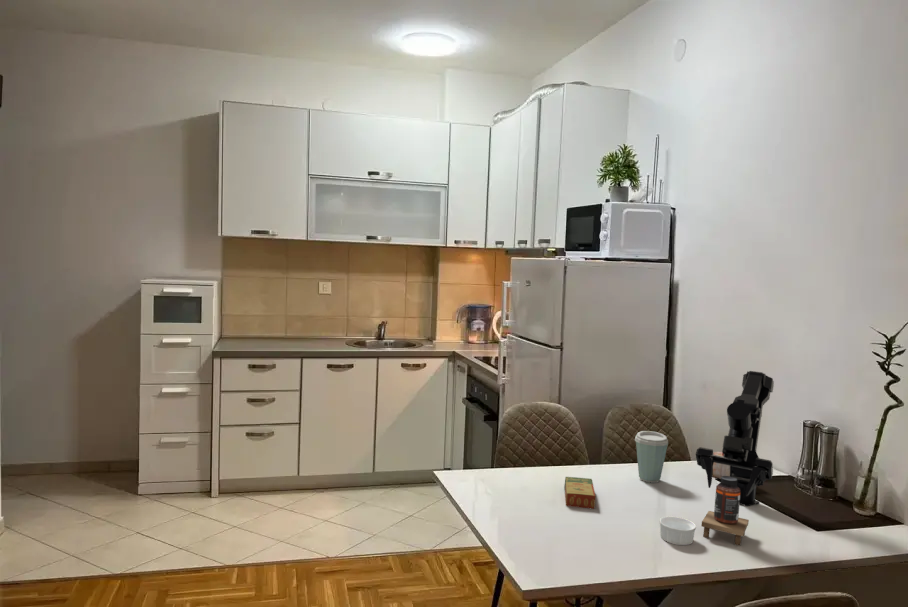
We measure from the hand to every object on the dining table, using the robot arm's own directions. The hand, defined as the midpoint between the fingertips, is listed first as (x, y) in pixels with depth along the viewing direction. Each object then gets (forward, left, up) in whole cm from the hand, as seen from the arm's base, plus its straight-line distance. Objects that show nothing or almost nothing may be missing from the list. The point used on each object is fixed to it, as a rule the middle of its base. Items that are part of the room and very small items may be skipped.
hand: (727, 491), depth 176 cm
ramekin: (+13, -4, -12) cm, 19 cm away
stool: (-1, 0, -12) cm, 12 cm away
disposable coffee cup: (-17, -42, -12) cm, 47 cm away
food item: (-43, -32, -12) cm, 55 cm away
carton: (+17, -37, -13) cm, 43 cm away
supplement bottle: (-1, 0, -8) cm, 8 cm away
